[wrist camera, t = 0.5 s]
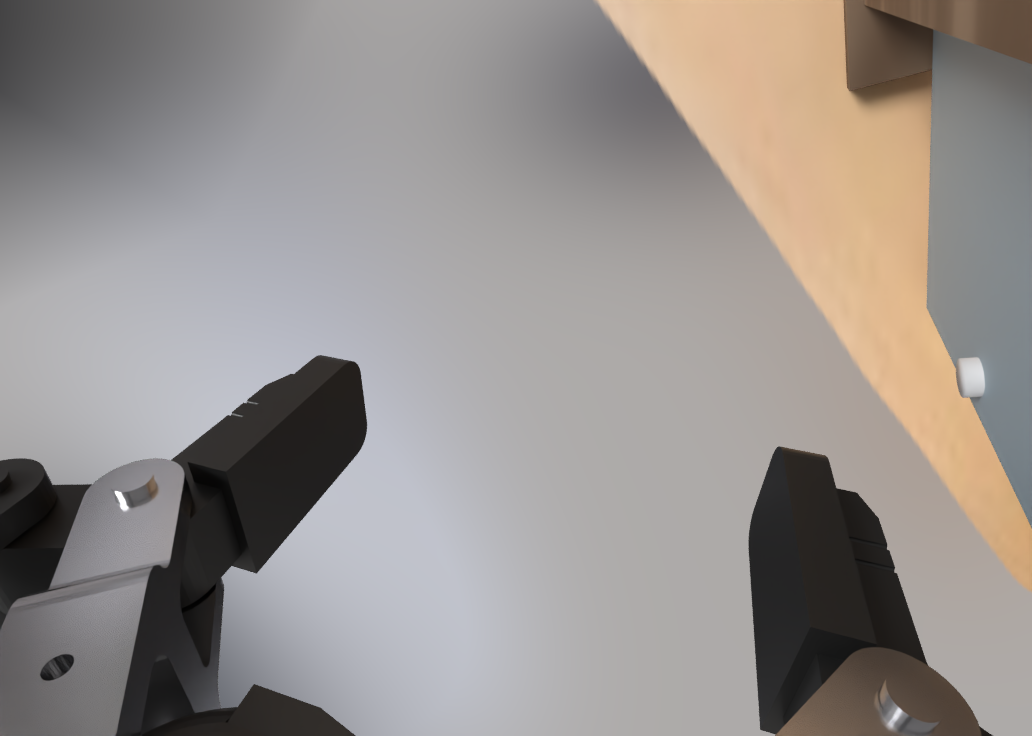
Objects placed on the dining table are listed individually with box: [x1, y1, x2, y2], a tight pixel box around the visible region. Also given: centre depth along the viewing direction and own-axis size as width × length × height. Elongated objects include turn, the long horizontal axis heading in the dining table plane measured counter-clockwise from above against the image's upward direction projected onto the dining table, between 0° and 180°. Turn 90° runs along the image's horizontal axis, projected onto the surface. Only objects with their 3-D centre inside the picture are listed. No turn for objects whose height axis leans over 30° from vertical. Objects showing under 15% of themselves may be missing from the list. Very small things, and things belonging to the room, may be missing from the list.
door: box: [927, 29, 1032, 527], centre depth 17 cm, size 14×2×18 cm, turn 18°
